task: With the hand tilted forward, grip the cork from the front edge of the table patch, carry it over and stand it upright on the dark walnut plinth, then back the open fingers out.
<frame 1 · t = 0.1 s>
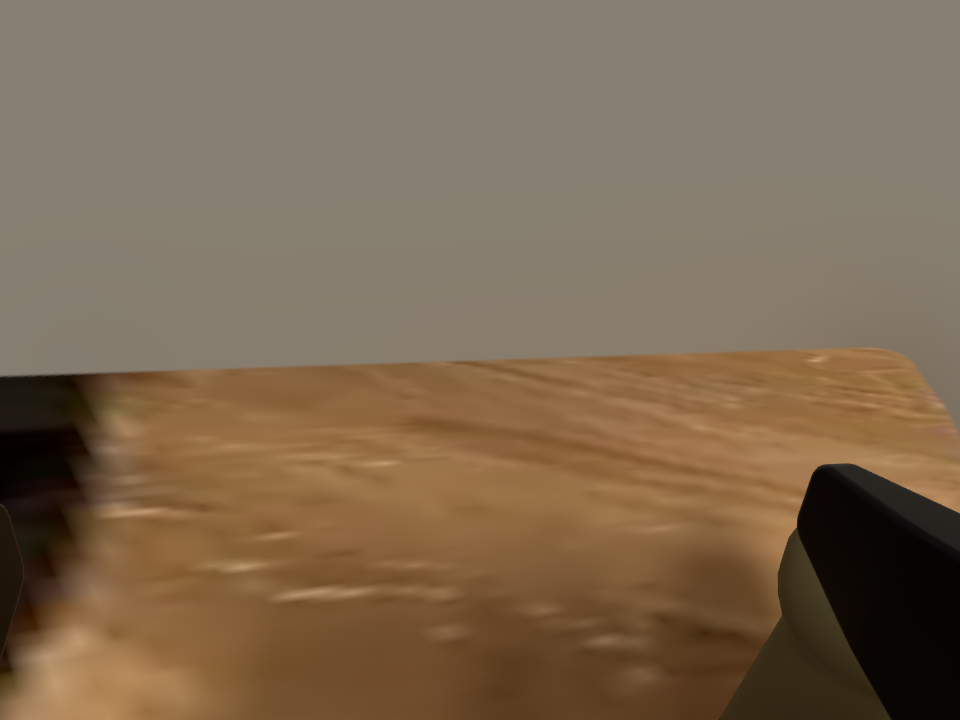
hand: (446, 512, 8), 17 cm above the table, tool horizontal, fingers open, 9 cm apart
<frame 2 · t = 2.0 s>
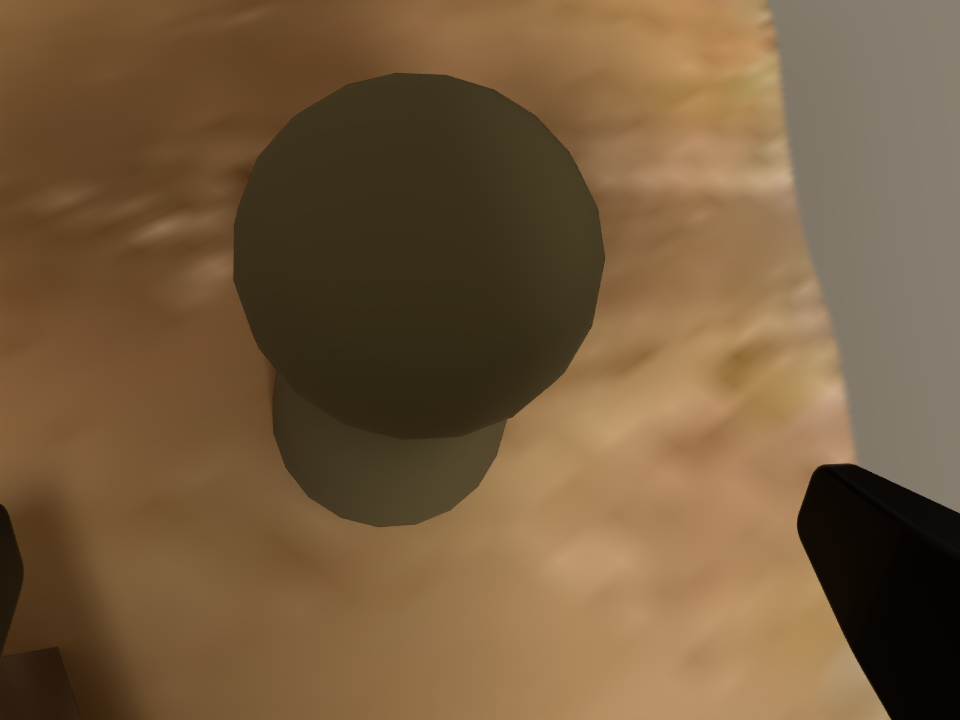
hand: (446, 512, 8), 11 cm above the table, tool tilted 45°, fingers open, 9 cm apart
cork: (390, 411, 20), on the table
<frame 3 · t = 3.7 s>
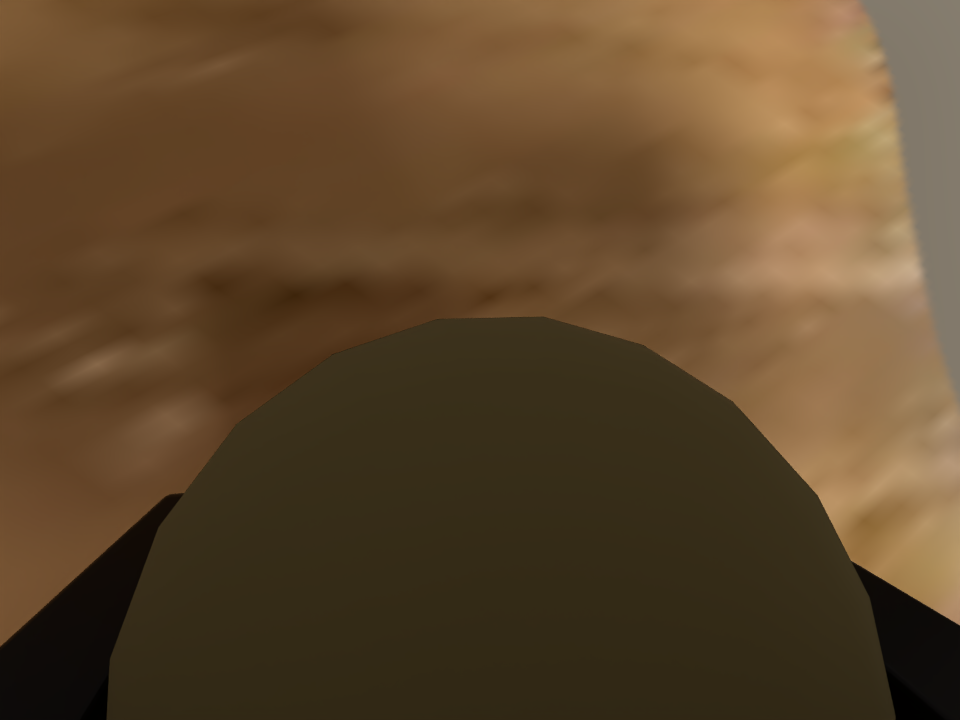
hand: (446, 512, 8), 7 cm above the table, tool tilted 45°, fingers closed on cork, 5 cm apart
cork: (408, 618, 14), on the table, touching gripper
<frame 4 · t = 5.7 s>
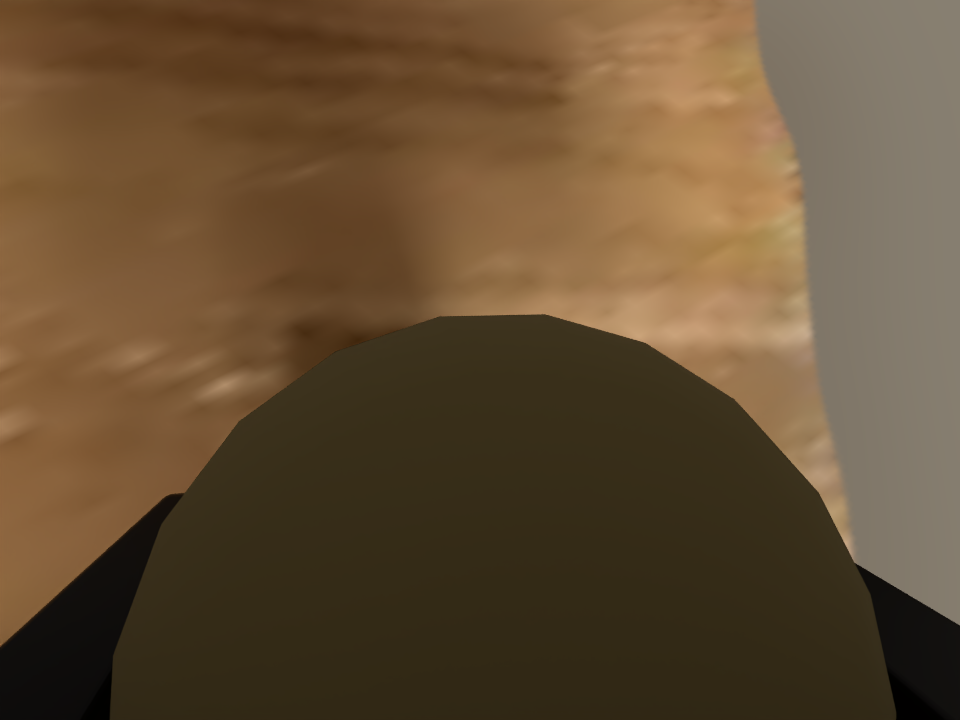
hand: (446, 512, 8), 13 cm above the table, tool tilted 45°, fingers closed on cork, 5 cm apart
cork: (409, 616, 14), point 7 cm above the table, touching gripper
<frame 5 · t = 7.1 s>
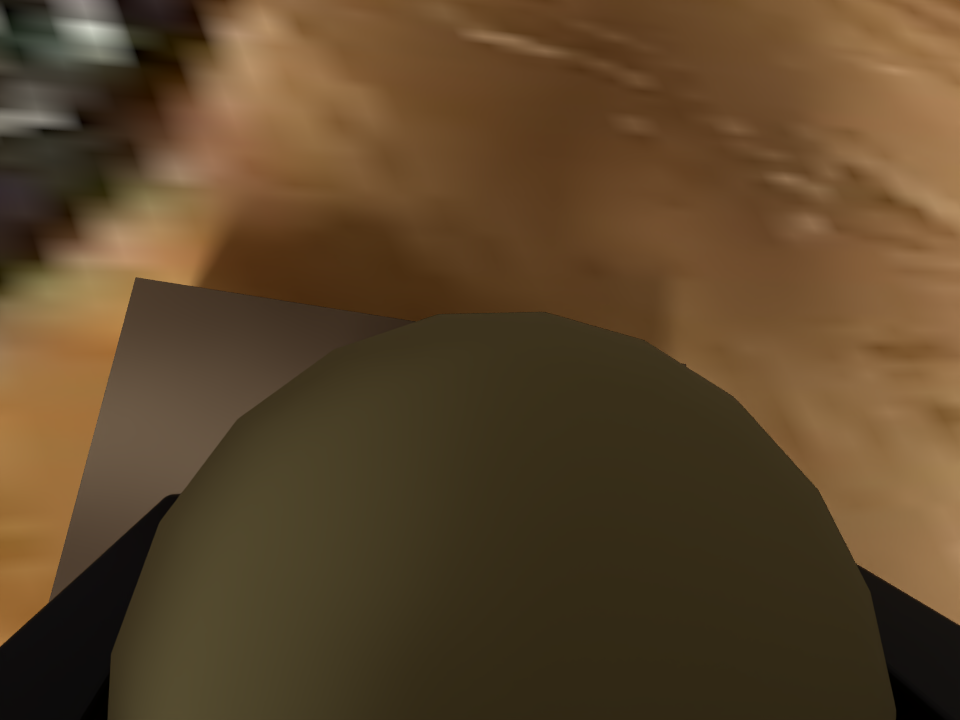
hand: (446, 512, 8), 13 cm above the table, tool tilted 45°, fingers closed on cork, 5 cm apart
cork: (409, 615, 14), point 6 cm above the table, touching gripper
walnut plinth: (377, 607, 20), on the table
when the fingers open (12 cm above the table, at t = 7.9 s): cork drops 1 cm, resting on walnut plinth.
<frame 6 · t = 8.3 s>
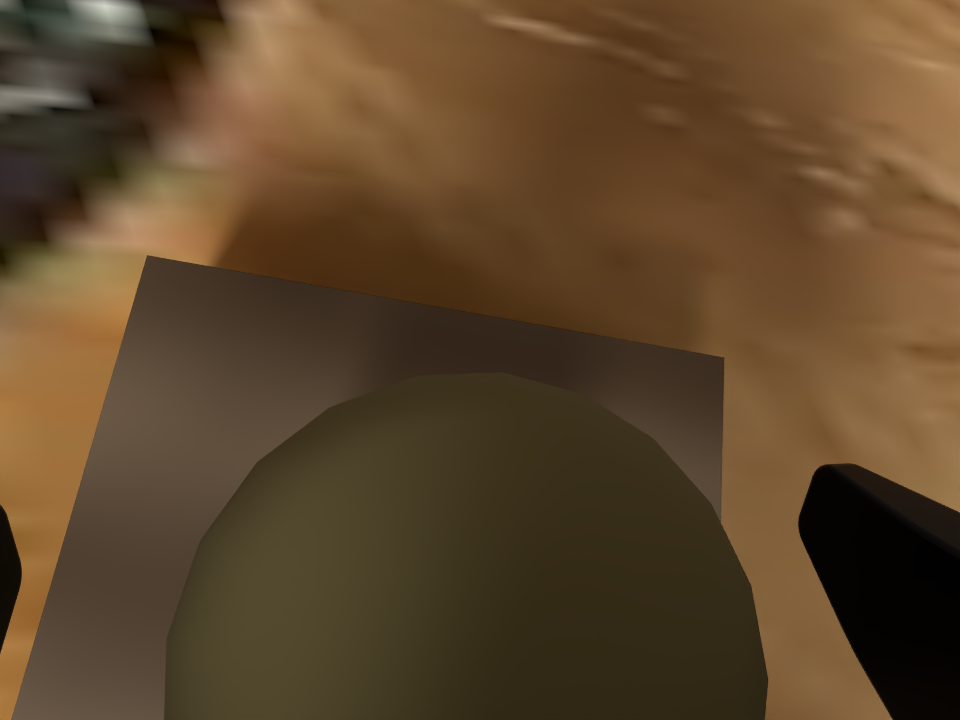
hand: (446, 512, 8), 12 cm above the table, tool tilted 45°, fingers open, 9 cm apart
cork: (403, 616, 16), point 4 cm above the table, touching walnut plinth
walnut plinth: (393, 610, 19), on the table
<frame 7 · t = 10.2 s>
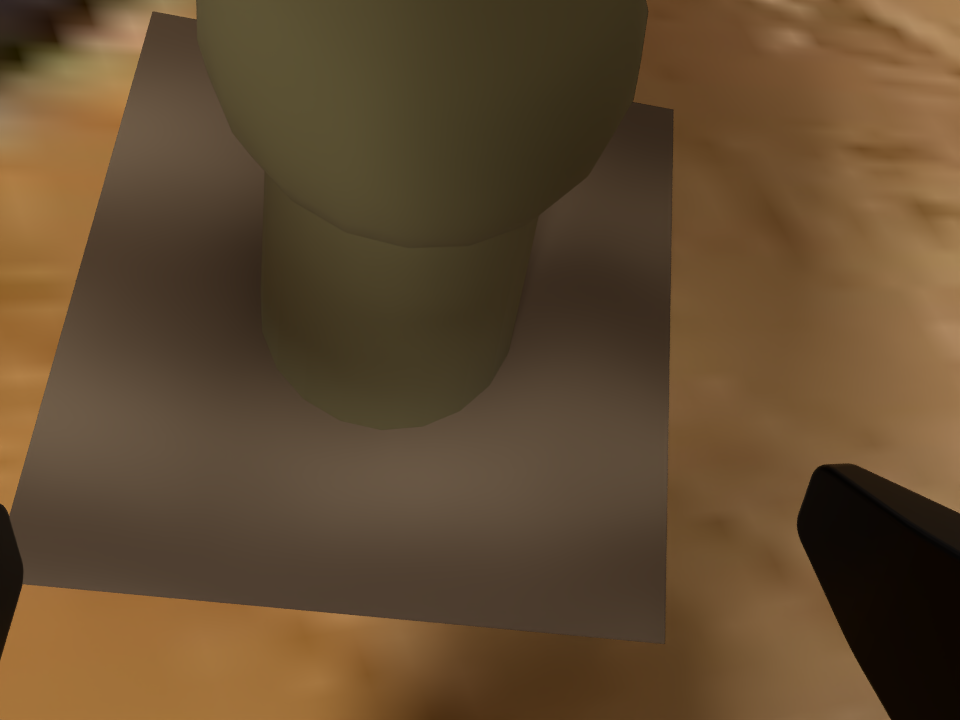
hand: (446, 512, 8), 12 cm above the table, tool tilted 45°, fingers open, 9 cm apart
cork: (390, 308, 18), point 4 cm above the table, touching walnut plinth
walnut plinth: (384, 354, 21), on the table
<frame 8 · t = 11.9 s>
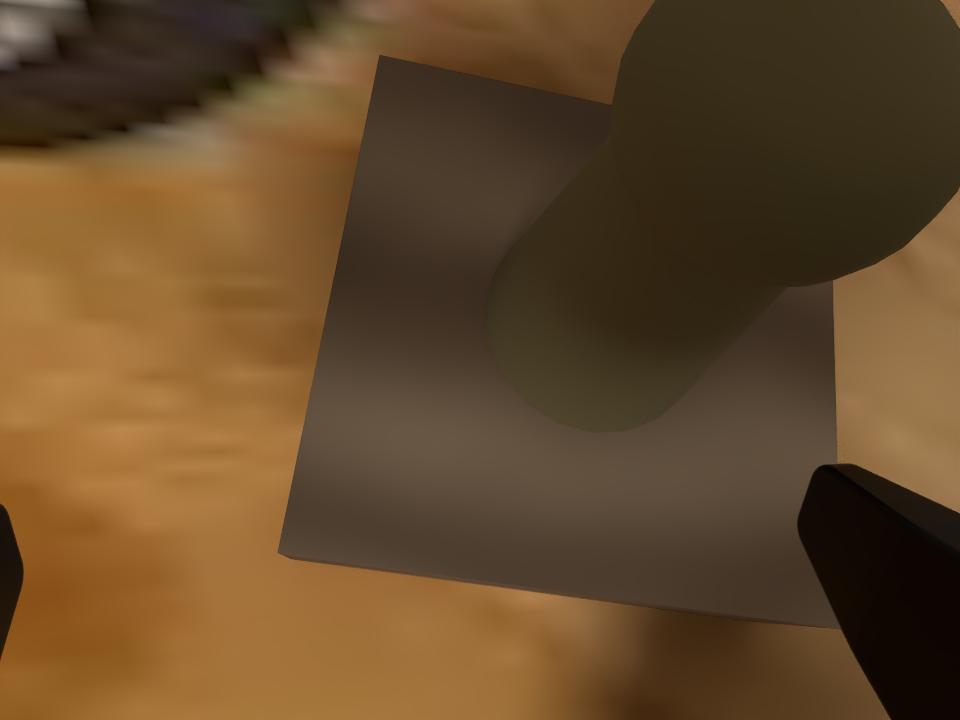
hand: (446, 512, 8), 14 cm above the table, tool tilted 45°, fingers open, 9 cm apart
cork: (593, 325, 20), point 4 cm above the table, touching walnut plinth
walnut plinth: (556, 364, 24), on the table
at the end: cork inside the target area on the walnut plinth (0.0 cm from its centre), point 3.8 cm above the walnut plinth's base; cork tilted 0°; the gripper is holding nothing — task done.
